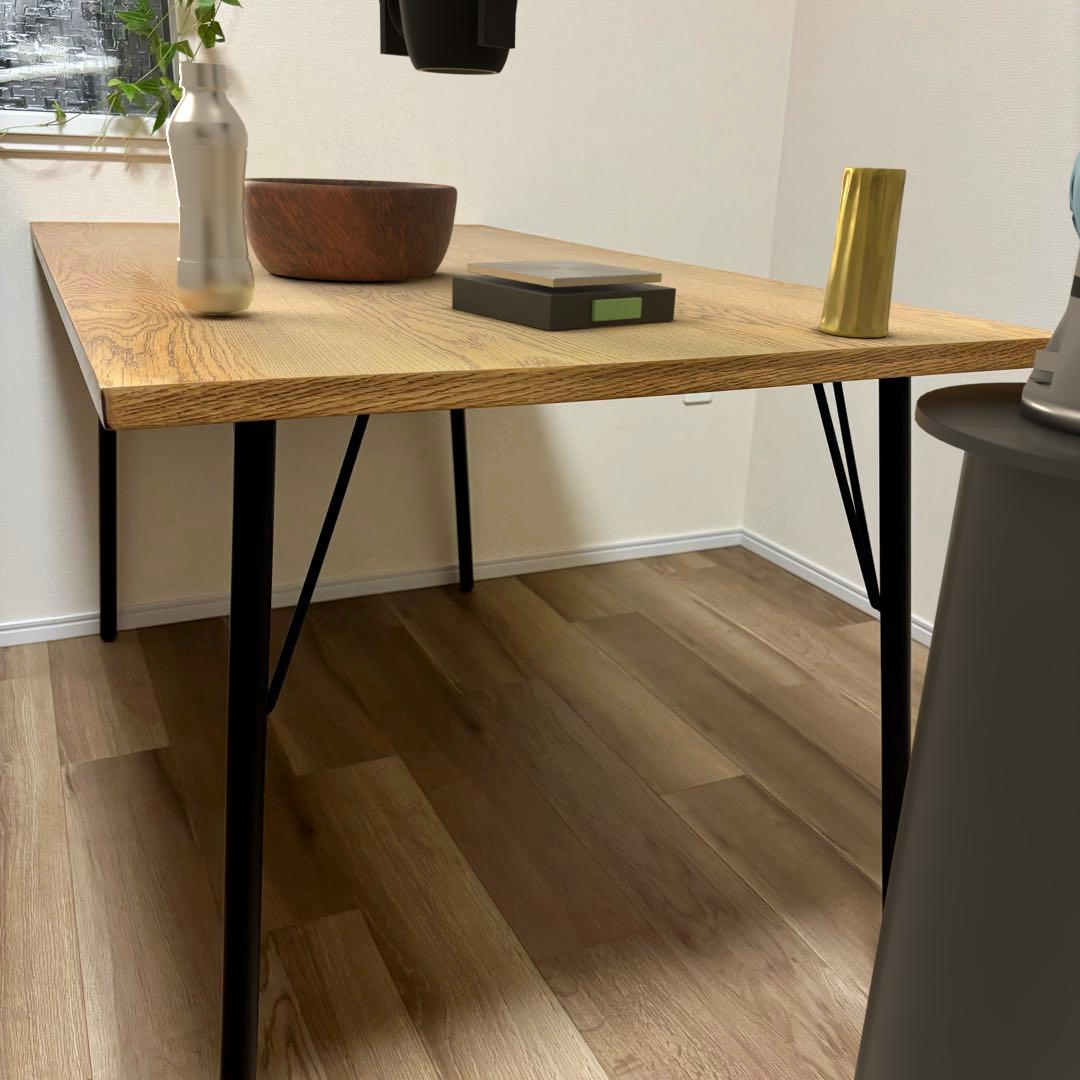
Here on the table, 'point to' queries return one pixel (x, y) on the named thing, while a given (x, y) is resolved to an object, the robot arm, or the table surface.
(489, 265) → the scale pan
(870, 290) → the vase
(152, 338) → the table surface
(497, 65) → the mug
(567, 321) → the scale
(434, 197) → the wooden bowl
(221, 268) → the silver bottle
